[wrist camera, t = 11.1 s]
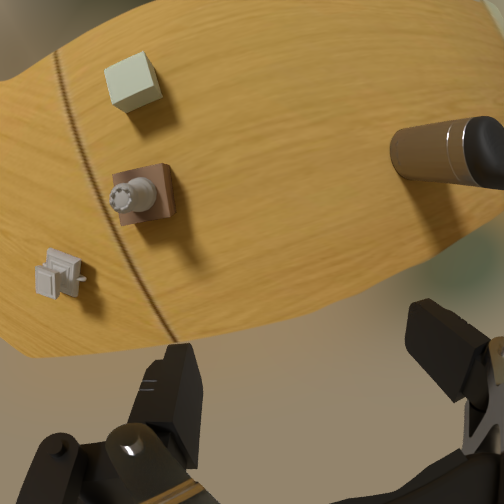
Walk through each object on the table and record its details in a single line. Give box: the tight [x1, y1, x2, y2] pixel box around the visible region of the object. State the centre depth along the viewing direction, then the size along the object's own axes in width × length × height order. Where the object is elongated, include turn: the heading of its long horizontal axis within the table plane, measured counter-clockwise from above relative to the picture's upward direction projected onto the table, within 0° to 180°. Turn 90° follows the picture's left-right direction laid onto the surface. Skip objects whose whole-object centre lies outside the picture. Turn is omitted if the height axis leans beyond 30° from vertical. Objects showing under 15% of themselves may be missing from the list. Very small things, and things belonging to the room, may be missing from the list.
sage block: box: [104, 51, 163, 113], centre depth 31 cm, size 6×6×6 cm
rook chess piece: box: [109, 177, 157, 214], centre depth 30 cm, size 4×4×8 cm
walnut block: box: [112, 163, 176, 226], centre depth 36 cm, size 7×7×5 cm
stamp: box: [35, 247, 87, 300], centre depth 36 cm, size 9×7×8 cm
